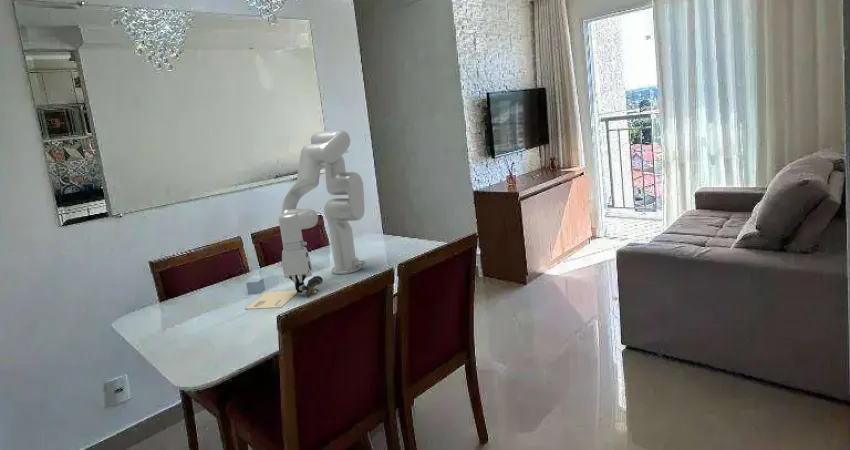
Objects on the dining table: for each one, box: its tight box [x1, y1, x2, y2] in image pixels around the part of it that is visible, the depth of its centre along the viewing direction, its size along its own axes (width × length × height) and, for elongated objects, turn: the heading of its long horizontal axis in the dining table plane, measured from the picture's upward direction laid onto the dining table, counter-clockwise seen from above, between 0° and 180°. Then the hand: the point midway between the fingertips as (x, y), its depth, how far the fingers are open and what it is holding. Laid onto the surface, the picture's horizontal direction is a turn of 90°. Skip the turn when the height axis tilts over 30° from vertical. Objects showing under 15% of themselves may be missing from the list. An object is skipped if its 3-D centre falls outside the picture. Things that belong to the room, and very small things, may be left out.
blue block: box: [245, 277, 266, 295], centre depth 220 cm, size 5×5×5 cm
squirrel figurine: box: [299, 275, 324, 299], centre depth 210 cm, size 8×7×9 cm
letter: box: [245, 289, 298, 310], centre depth 208 cm, size 14×18×1 cm
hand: (300, 291), depth 210 cm, fingers closed
